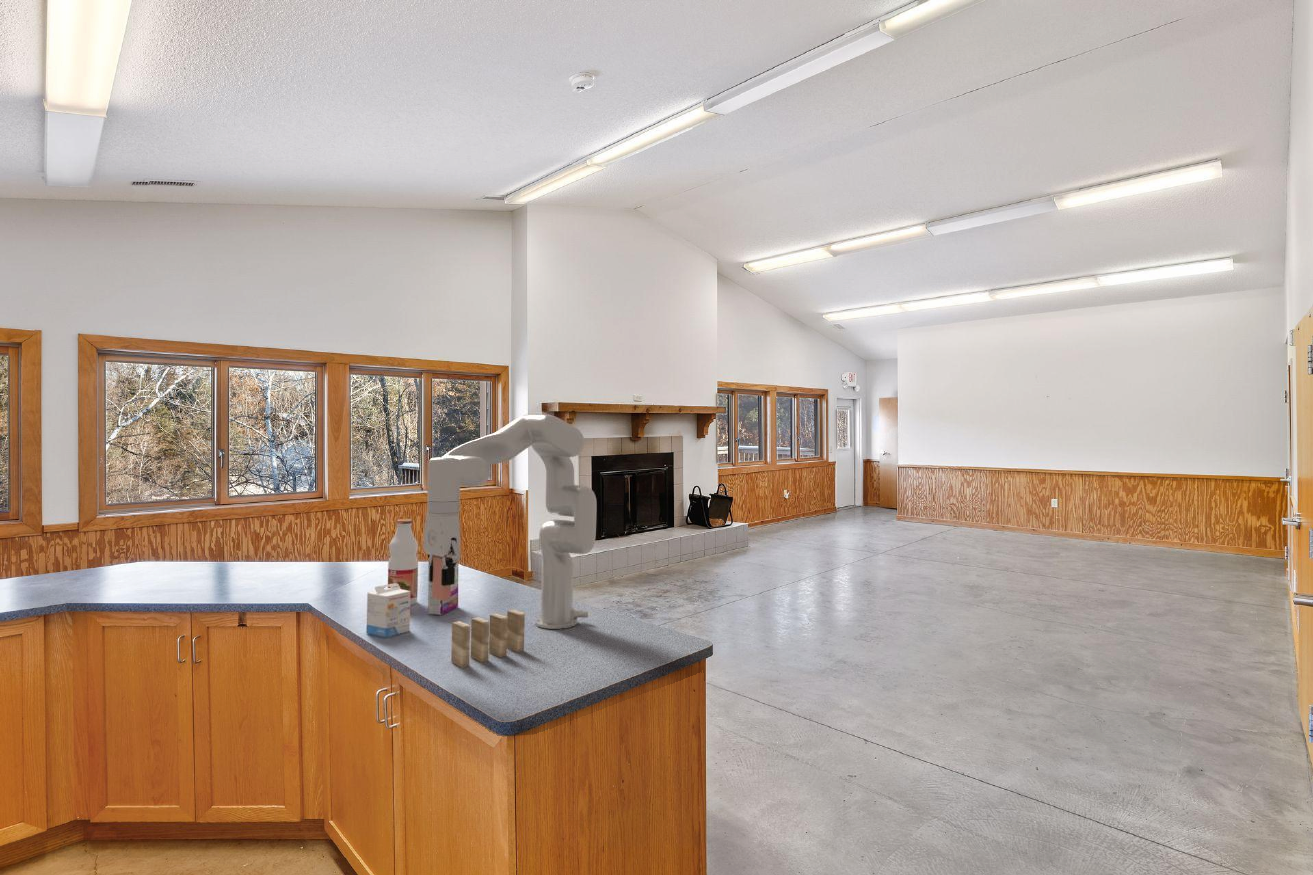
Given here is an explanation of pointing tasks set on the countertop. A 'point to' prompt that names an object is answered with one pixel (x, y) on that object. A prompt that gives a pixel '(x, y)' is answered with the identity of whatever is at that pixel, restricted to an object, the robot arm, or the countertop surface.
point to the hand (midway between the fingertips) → (441, 581)
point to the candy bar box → (438, 605)
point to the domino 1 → (439, 581)
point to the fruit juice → (404, 559)
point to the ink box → (388, 611)
